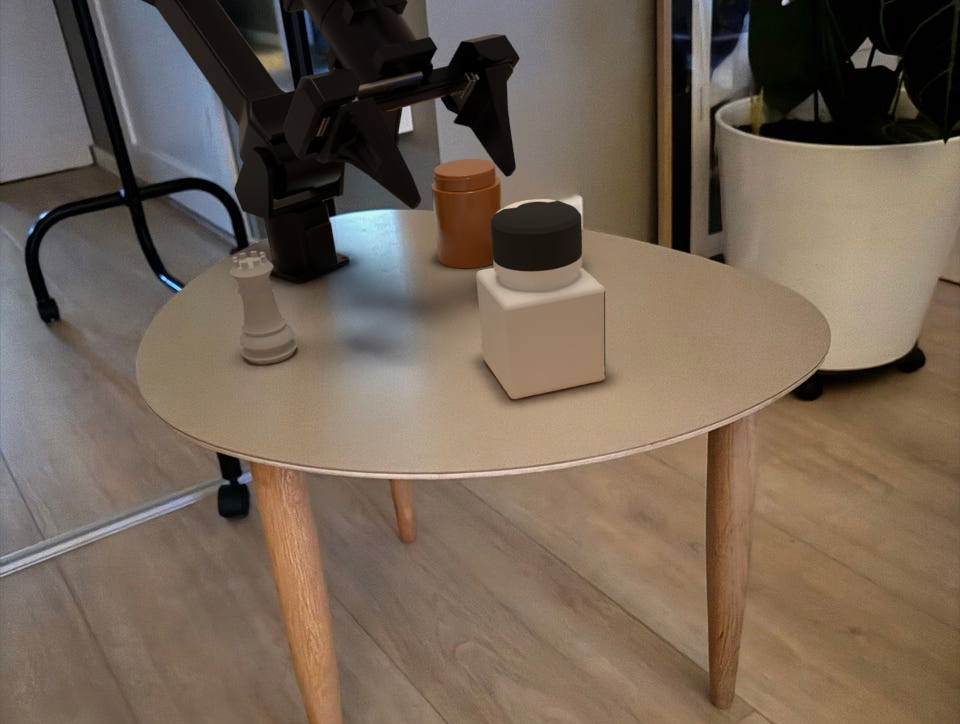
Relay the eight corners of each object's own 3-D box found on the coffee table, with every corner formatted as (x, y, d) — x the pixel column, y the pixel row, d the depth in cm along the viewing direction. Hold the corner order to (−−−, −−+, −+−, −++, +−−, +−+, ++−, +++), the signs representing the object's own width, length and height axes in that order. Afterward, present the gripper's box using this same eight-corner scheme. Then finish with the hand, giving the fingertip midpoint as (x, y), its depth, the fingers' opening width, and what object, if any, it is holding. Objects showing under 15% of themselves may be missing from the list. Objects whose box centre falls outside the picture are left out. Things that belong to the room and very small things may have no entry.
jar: (425, 259, 88) (415, 171, 84) (471, 240, 92) (464, 154, 87) (472, 273, 84) (464, 181, 80) (519, 252, 88) (513, 162, 83)
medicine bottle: (606, 381, 65) (606, 213, 58) (511, 401, 63) (499, 232, 57) (570, 341, 71) (566, 185, 64) (482, 359, 69) (468, 201, 63)
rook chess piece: (282, 367, 71) (261, 268, 66) (232, 364, 72) (207, 266, 68) (308, 343, 74) (289, 247, 70) (259, 339, 76) (237, 245, 71)
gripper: (413, 68, 79) (509, 217, 78) (223, 113, 70) (329, 284, 69) (465, -35, 70) (575, 133, 69) (253, 0, 60) (377, 197, 59)
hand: (466, 188), depth 67 cm, fingers open, 9 cm apart
